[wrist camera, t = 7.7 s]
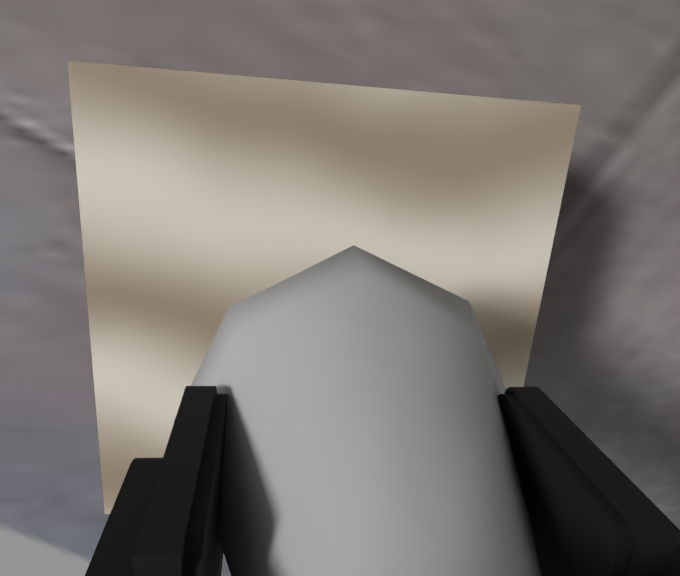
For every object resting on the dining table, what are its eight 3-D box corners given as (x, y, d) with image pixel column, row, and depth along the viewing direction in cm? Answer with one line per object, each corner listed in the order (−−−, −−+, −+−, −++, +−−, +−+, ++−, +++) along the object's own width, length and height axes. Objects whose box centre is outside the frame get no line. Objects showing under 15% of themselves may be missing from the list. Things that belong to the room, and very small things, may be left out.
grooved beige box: (135, 78, 20) (67, 60, 13) (486, 108, 22) (580, 105, 15) (150, 404, 24) (104, 514, 17) (441, 403, 26) (499, 501, 19)
